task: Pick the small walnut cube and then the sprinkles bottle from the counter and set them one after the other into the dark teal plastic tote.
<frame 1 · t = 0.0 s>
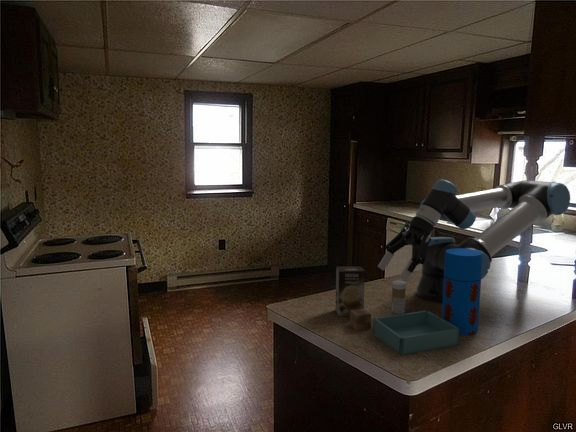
hand: (390, 273, 144), 15 cm above the table, tool tilted 35°, fingers open, 13 cm apart
coffee box: (349, 313, 151), on the table
tote: (414, 339, 129), on the table
thermos: (459, 329, 137), on the table
walnut cube: (360, 326, 139), on the table
sprinkles bottle: (397, 321, 143), on the table
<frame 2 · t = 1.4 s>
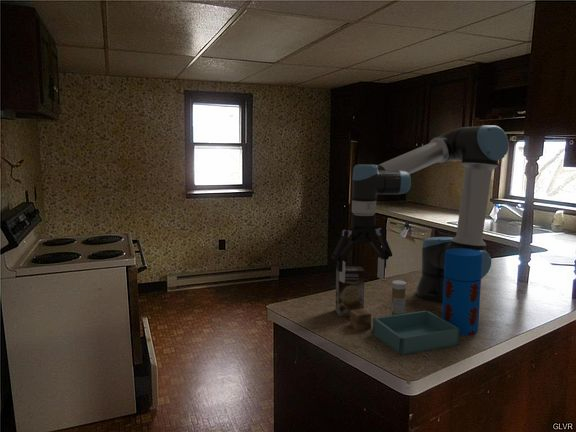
hand: (361, 279, 137), 16 cm above the table, tool pointing down, fingers open, 13 cm apart
nothing on the table moved.
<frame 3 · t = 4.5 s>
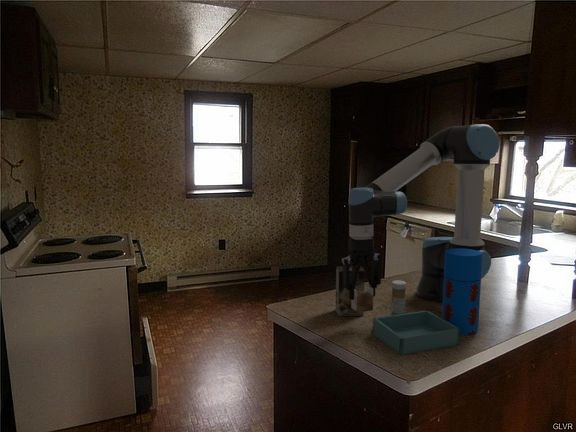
hand: (362, 307, 138), 6 cm above the table, tool pointing down, fingers closed on walnut cube, 5 cm apart
walnut cube: (362, 308, 139), point 6 cm above the table, touching gripper
everything else where it was.
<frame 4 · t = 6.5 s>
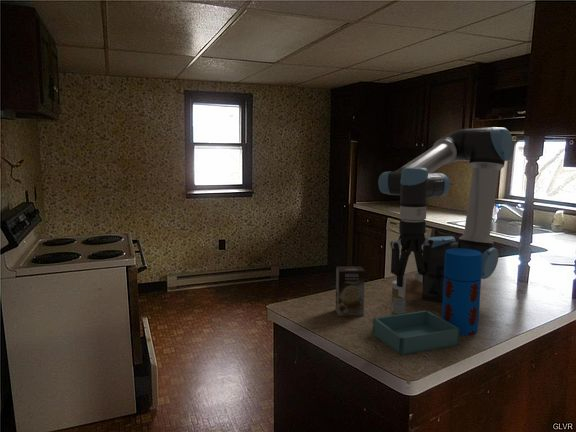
hand: (410, 295, 130), 13 cm above the table, tool pointing down, fingers closed on walnut cube, 5 cm apart
walnut cube: (410, 296, 130), point 12 cm above the table, touching gripper
everything else where it was.
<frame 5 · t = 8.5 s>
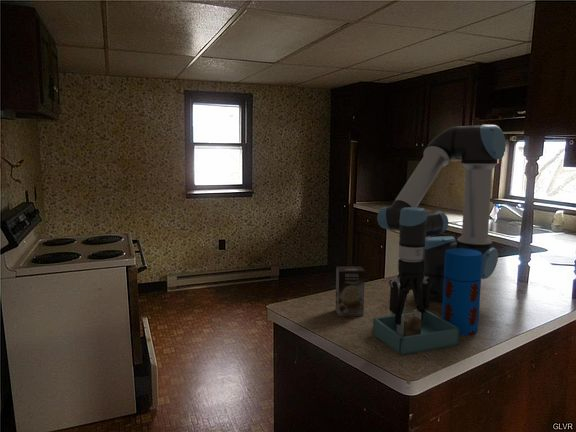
hand: (408, 332, 132), 1 cm above the table, tool pointing down, fingers closed on walnut cube, 5 cm apart
walnut cube: (408, 333, 132), point 1 cm above the table, touching gripper, tote
everything else where it was.
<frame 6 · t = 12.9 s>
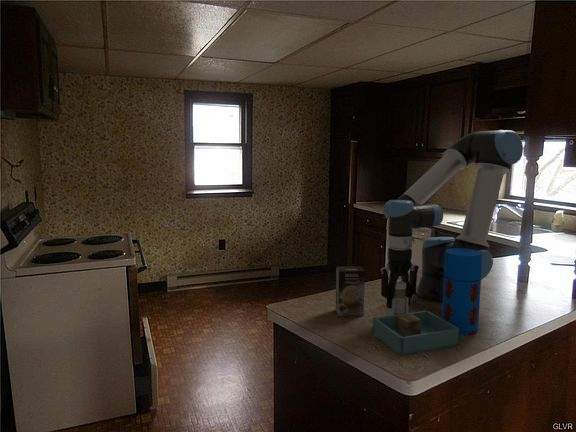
hand: (398, 315, 143), 2 cm above the table, tool pointing down, fingers closed on sprinkles bottle, 4 cm apart
walnut cube: (408, 333, 132), point 1 cm above the table, touching tote
sprinkles bottle: (397, 321, 143), on the table, touching gripper
everything else where it was.
when the fingers open (4 cm above the table, at t = 18.3 s): sprinkles bottle drops 2 cm, resting on tote.
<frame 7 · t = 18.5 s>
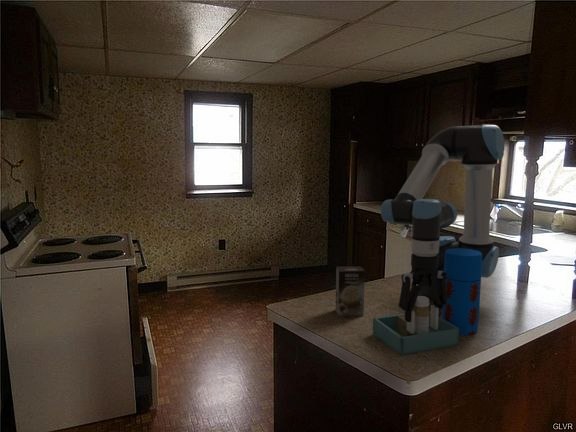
hand: (422, 329, 125), 4 cm above the table, tool pointing down, fingers open, 7 cm apart
sprinkles bottle: (421, 342, 126), point 1 cm above the table, touching tote
everything else where it was.
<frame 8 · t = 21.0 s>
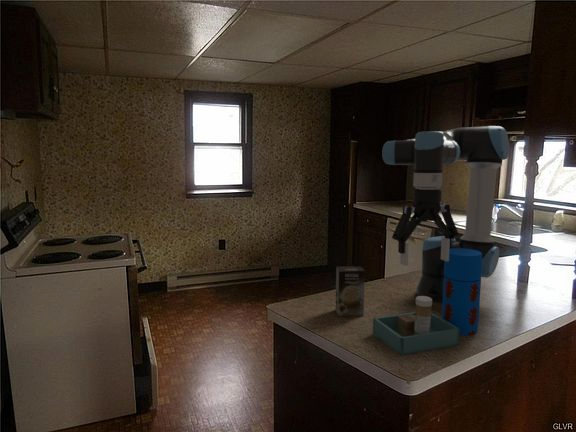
hand: (424, 262, 122), 25 cm above the table, tool pointing down, fingers open, 13 cm apart
at the end: walnut cube inside the target area on the tote (2.9 cm from its centre), point 0.6 cm above the tote's base; sprinkles bottle inside the target area on the tote (3.4 cm from its centre), point 0.4 cm above the tote's base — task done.
